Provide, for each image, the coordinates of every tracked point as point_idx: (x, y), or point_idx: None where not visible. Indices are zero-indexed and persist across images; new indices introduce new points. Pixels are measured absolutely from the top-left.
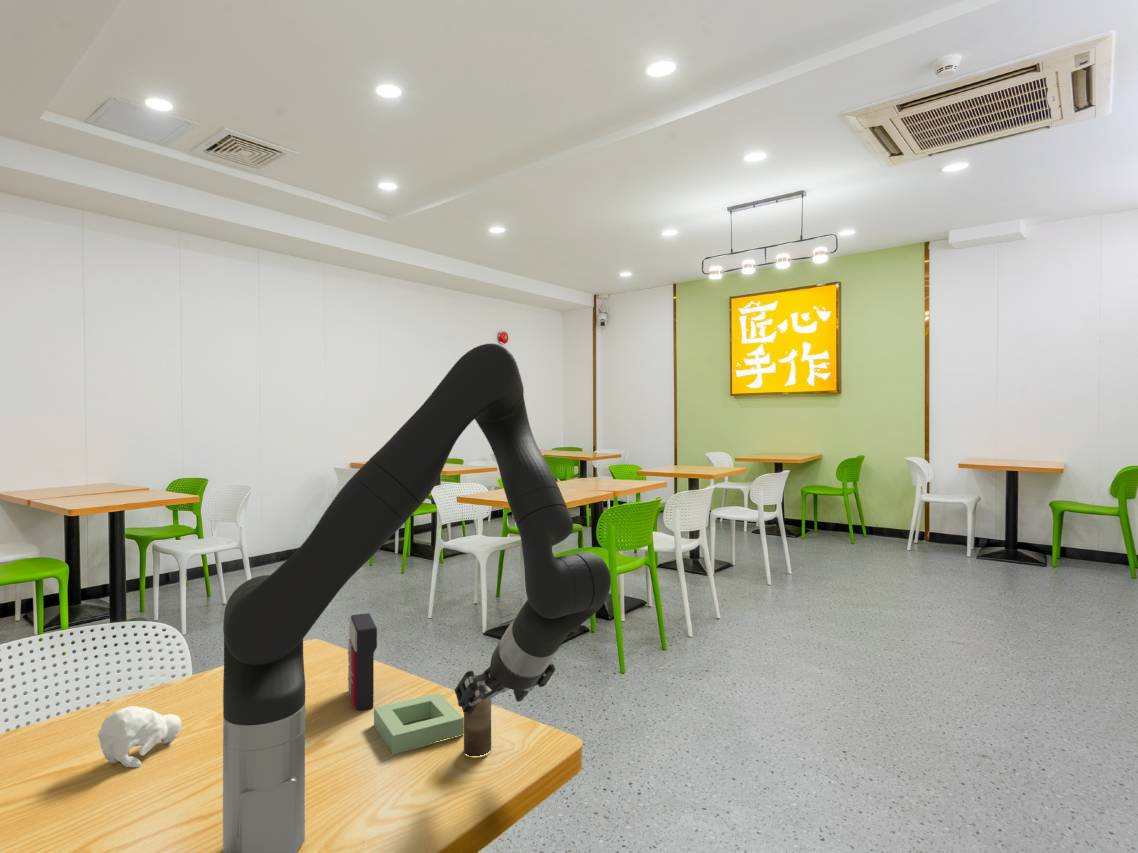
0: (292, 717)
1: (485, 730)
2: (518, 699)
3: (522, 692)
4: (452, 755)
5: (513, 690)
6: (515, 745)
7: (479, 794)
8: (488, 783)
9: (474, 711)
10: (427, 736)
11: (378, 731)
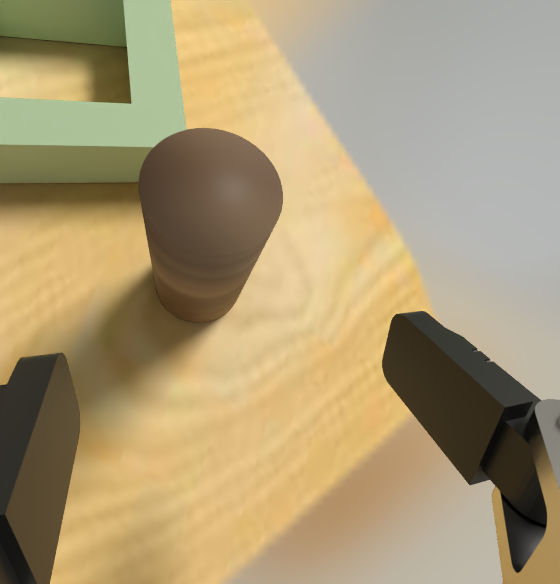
0: None
1: (220, 298)
2: (396, 386)
3: (449, 445)
4: (117, 272)
5: (395, 316)
6: (311, 299)
7: (118, 549)
8: (170, 487)
9: (177, 262)
10: (54, 166)
11: None
